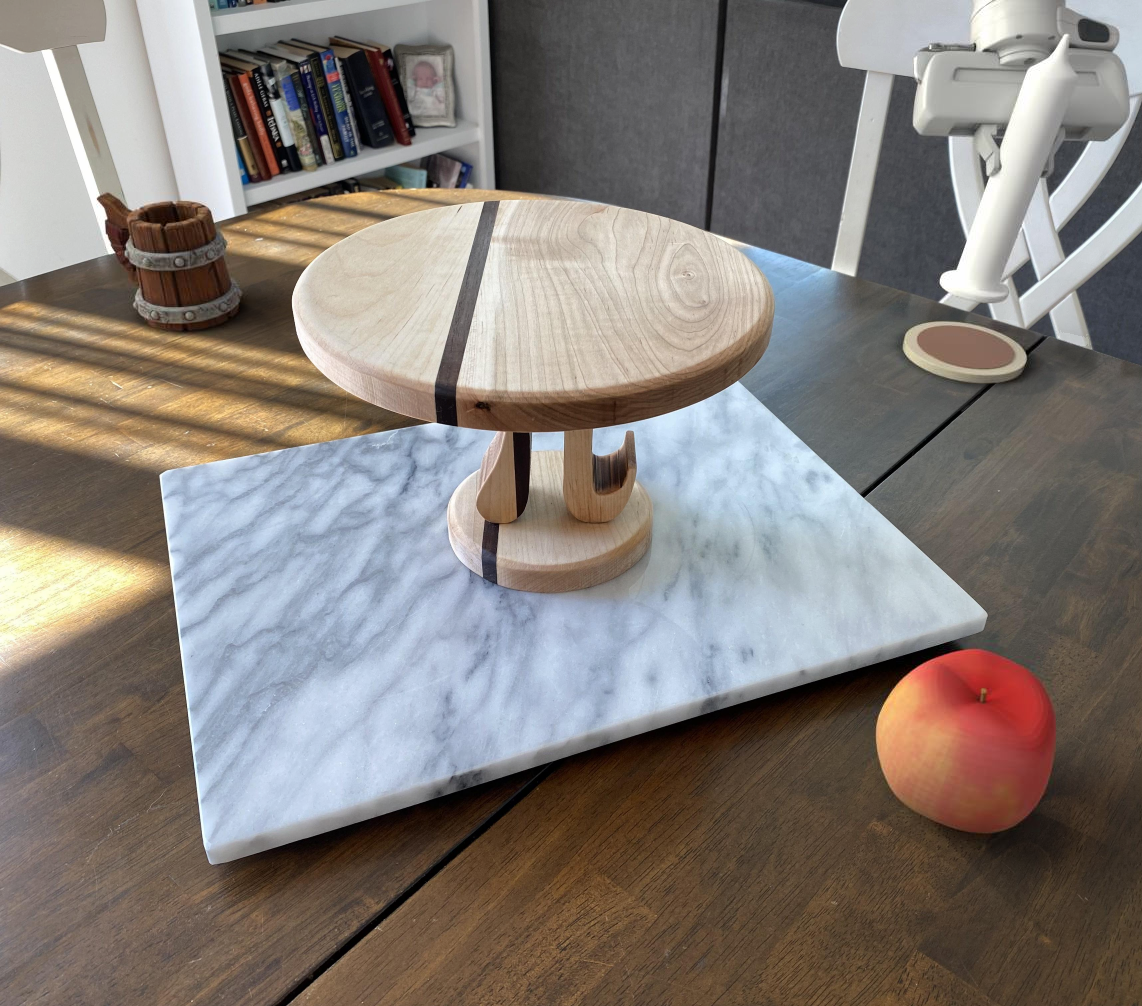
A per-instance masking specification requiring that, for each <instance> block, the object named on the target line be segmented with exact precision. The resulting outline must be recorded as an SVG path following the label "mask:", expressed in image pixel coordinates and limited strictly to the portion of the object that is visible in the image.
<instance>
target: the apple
mask: <svg viewBox="0 0 1142 1006" xmlns="http://www.w3.org/2000/svg"><path fill="white" fill-rule="evenodd" d="M875 742H876V750H877V751H876V752H877V755H878V761H879V764H880V767H881V770H882V773H883V775H884V777H885V780H886V782H887V784H888V786H889V788H890V789H891V791H892V793H894V796H896V797H897V798H898V800H899V801H900V802H901V803H902V804H904V805H905V806H906V807H907V808H909V809H911V810H912V811H913V812H915V813H917V814H919V815H921V816H923V817H925V818H926V819H929V820H931V821H933V822H936V823H938V824H940V825H943V826H945V827H948V828H952V829H953V830H958V831H963V832H966V833H967V832H968V833H973V834H974V833H975V834H994V833H999V832H1002V831H1006V830H1008V829H1010V828H1012V827H1015V826H1016V825H1018V824H1019V823H1021V822H1022V821H1023V820H1025V819H1026V818H1027V817H1028V816H1029V815H1030V814H1031V813H1032V811H1034V809H1035V808H1036V807H1037V805H1038V804H1039V803H1040V801H1041V799H1042V798H1043V796H1044V793H1045V791H1046V788H1047V786H1048V783H1049V780H1050V777H1051V773H1052V769H1053V765H1054V758H1055V751H1056V742H1057V720H1056V714H1055V710H1054V707H1053V703H1052V701H1051V698H1050V696H1049V693H1048V692H1047V690H1046V688H1045V687H1044V685H1043V683H1042V682H1041V681H1040V680H1039V679H1038V677H1037V676H1036V675H1035V674H1033V672H1032V671H1030V670H1029V669H1027V668H1026V667H1024V666H1023V665H1021V664H1019V663H1017V662H1015V661H1013V660H1011V659H1008V658H1006V657H1004V656H1001V655H999V654H998V653H997V654H996V653H993V652H991V651H988V650H984V649H980V648H969V649H962V650H958V651H952V652H949V653H946V654H943V655H940V656H937V657H935V658H932V659H930V660H927V661H926V662H923V663H922V664H920V665H918V666H916V668H914V669H912V670H911V671H909V673H907V674H906V675H905V676H903V678H902V679H900V680H899V682H898V683H897V684H896V685H895V686H894V687H893V689H892V690H891V692H890V693H889V695H888V697H887V698H886V700H885V701H884V703H883V706H882V708H881V709H880V712H879V714H878V717H877V721H876V727H875Z"/></svg>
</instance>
